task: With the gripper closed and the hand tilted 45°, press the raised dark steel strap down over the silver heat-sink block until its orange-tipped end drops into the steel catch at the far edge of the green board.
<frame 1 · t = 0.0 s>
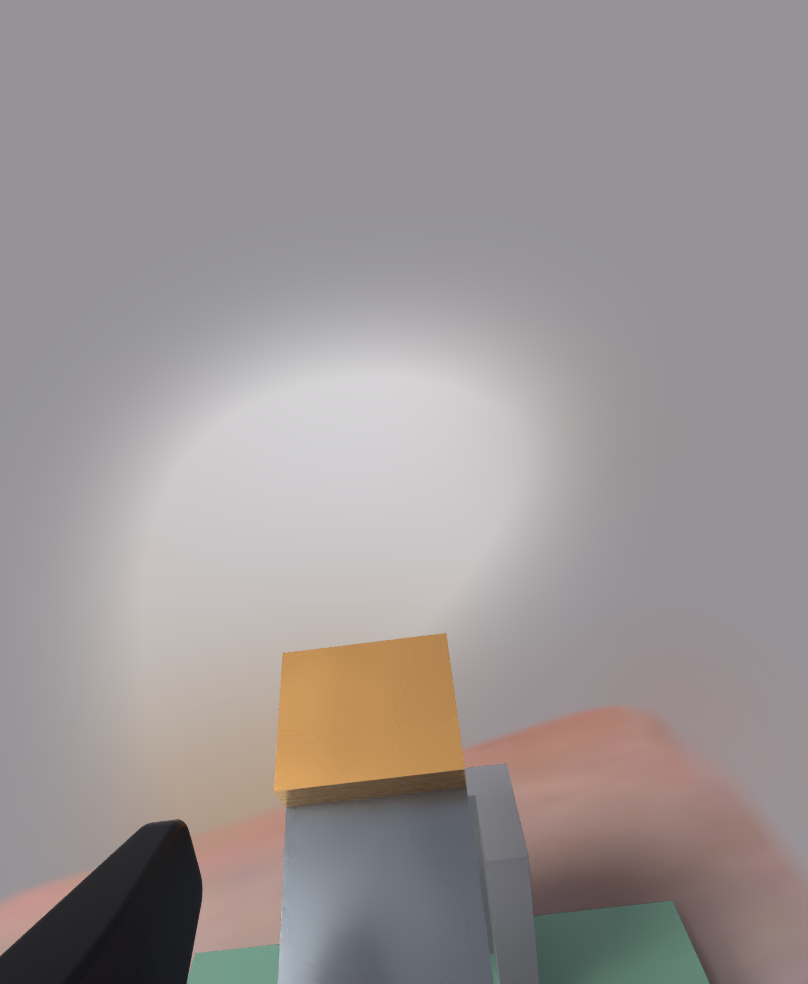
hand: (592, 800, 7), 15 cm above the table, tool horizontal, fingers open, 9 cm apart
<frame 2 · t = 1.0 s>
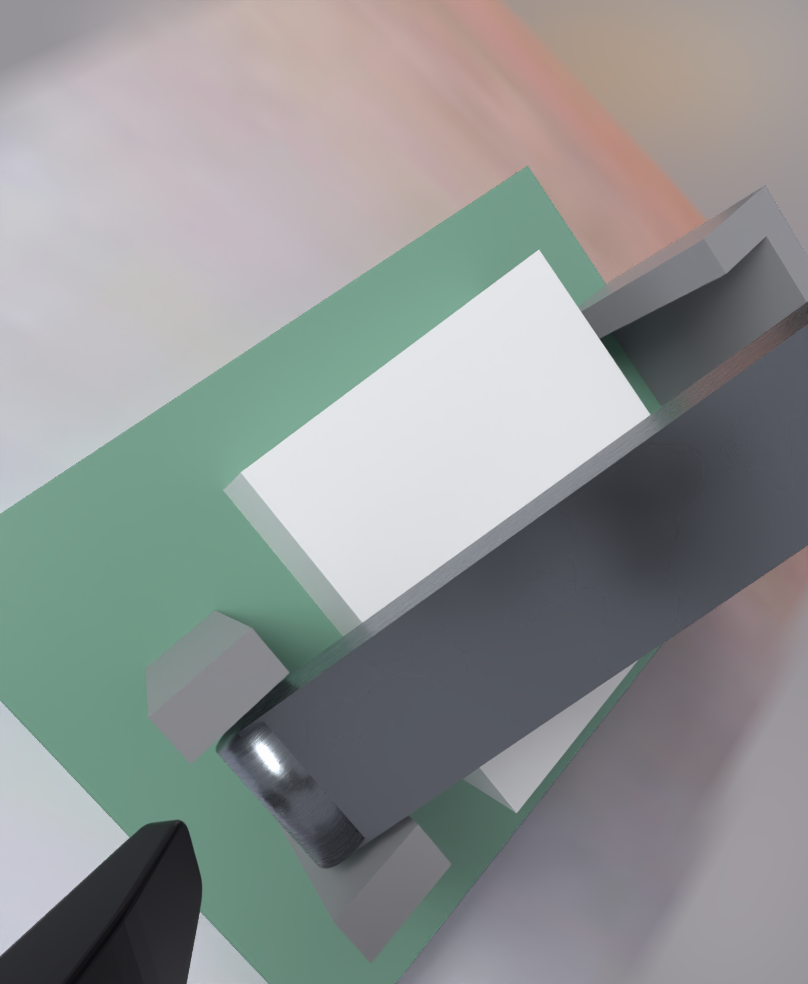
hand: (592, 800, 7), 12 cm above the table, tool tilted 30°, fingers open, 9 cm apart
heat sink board: (425, 544, 19), on the table
strap: (660, 533, 10), point 10 cm above the table, hinge at 28.0°
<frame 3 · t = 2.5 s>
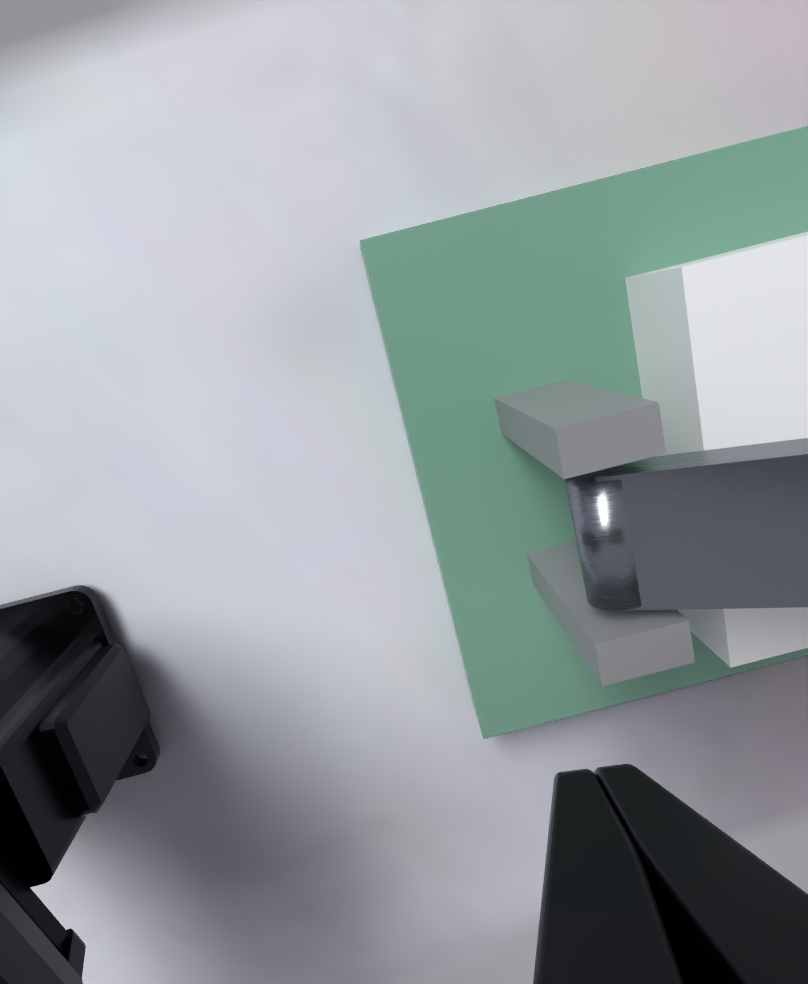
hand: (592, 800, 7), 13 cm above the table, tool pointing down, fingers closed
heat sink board: (756, 417, 19), on the table
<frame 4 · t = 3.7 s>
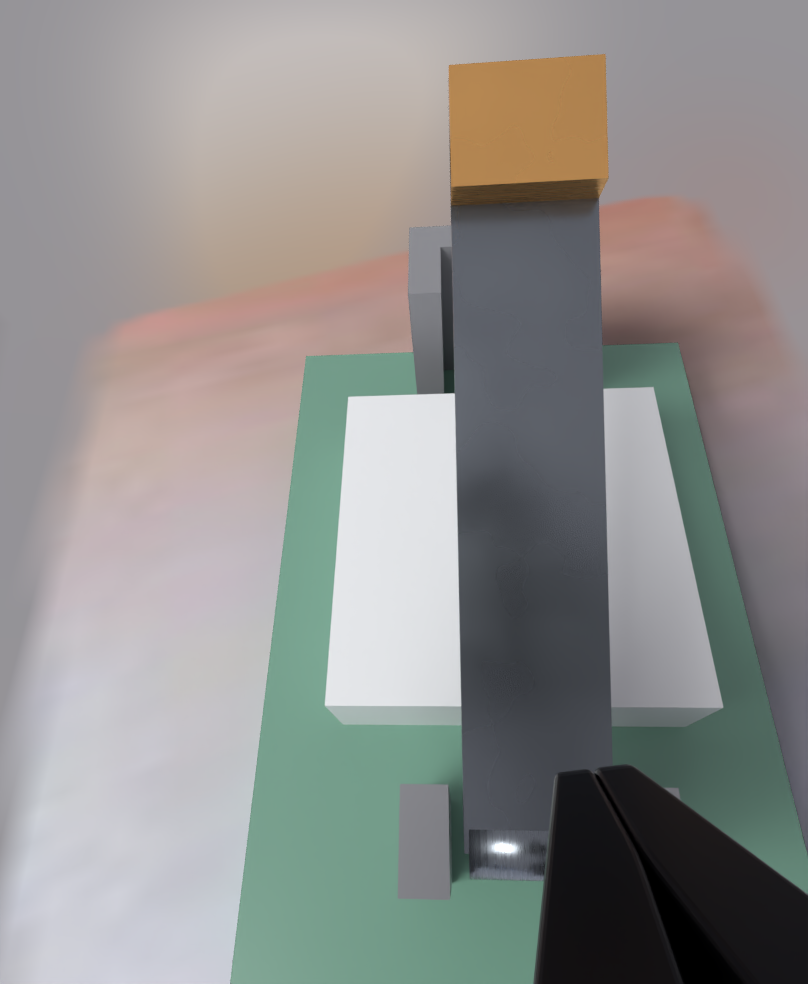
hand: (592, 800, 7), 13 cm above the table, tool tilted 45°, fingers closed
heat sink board: (500, 610, 22), on the table
strap: (529, 476, 13), point 10 cm above the table, hinge at 28.0°
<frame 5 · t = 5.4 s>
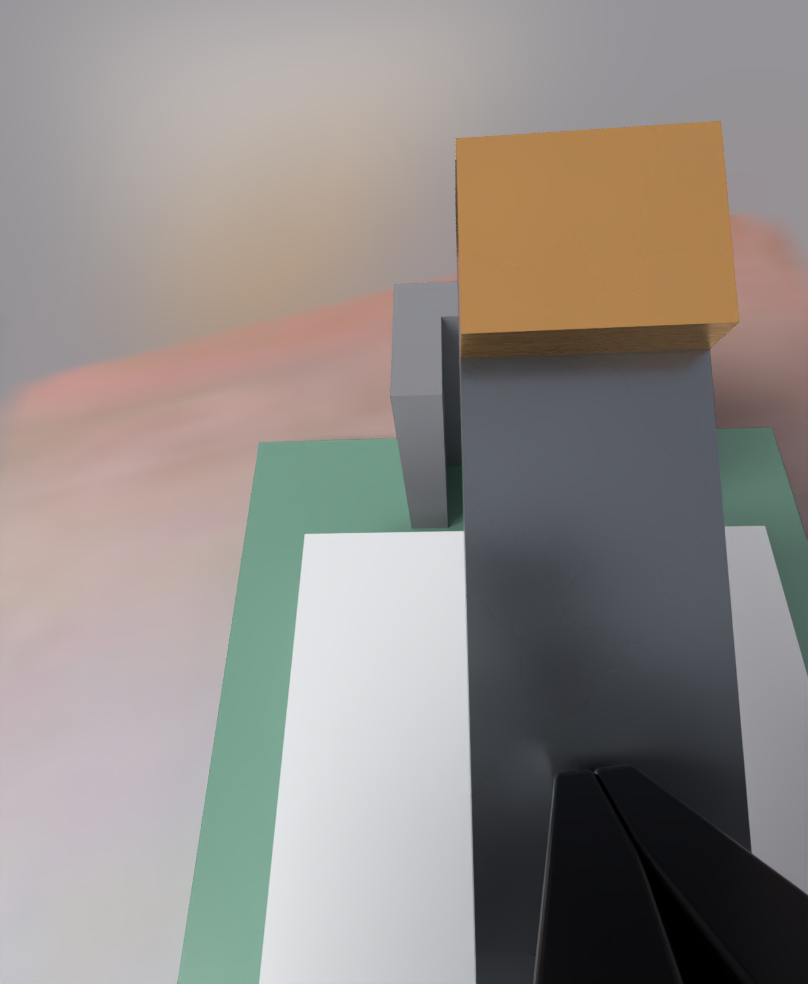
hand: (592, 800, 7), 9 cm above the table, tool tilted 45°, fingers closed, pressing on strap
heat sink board: (530, 840, 15), on the table
strap: (605, 839, 7), point 9 cm above the table, hinge at 20.4°, touching gripper
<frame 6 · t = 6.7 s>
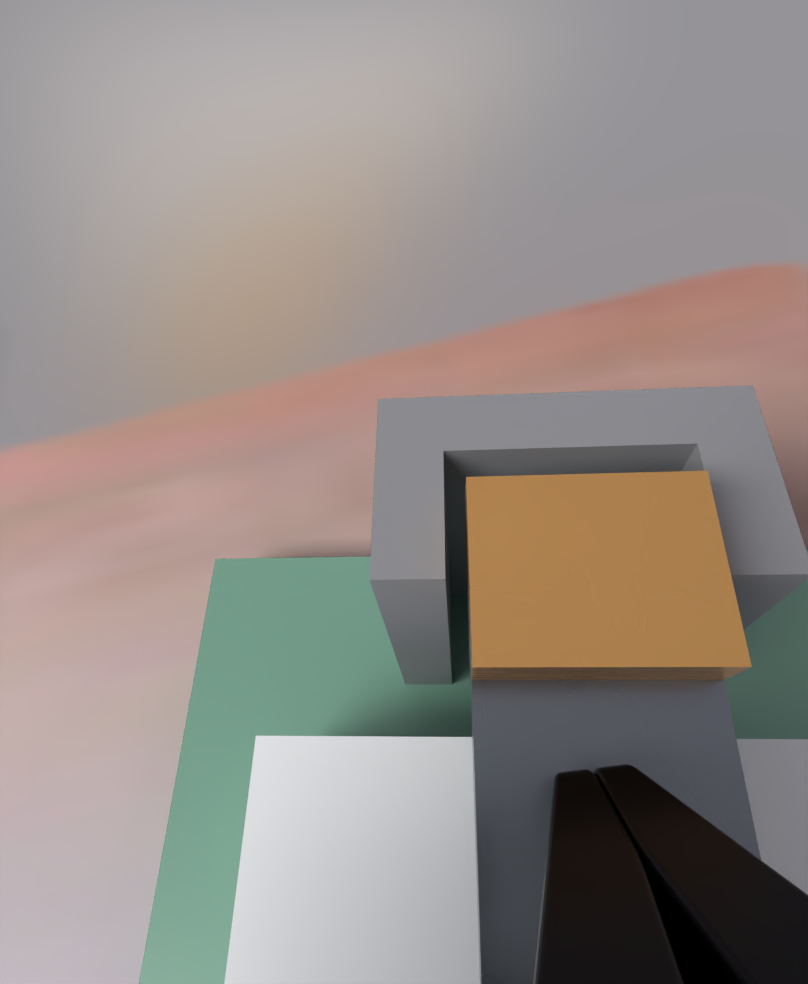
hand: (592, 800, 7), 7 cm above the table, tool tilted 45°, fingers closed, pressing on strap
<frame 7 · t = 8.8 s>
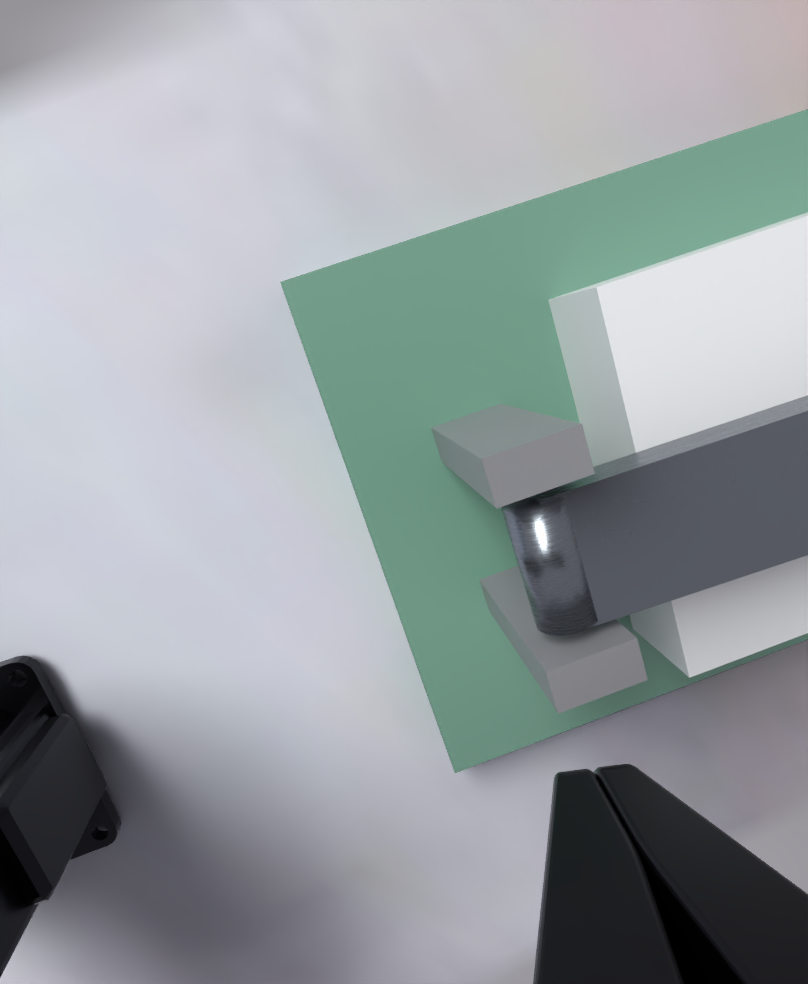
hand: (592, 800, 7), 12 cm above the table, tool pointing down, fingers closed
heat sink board: (692, 424, 20), on the table
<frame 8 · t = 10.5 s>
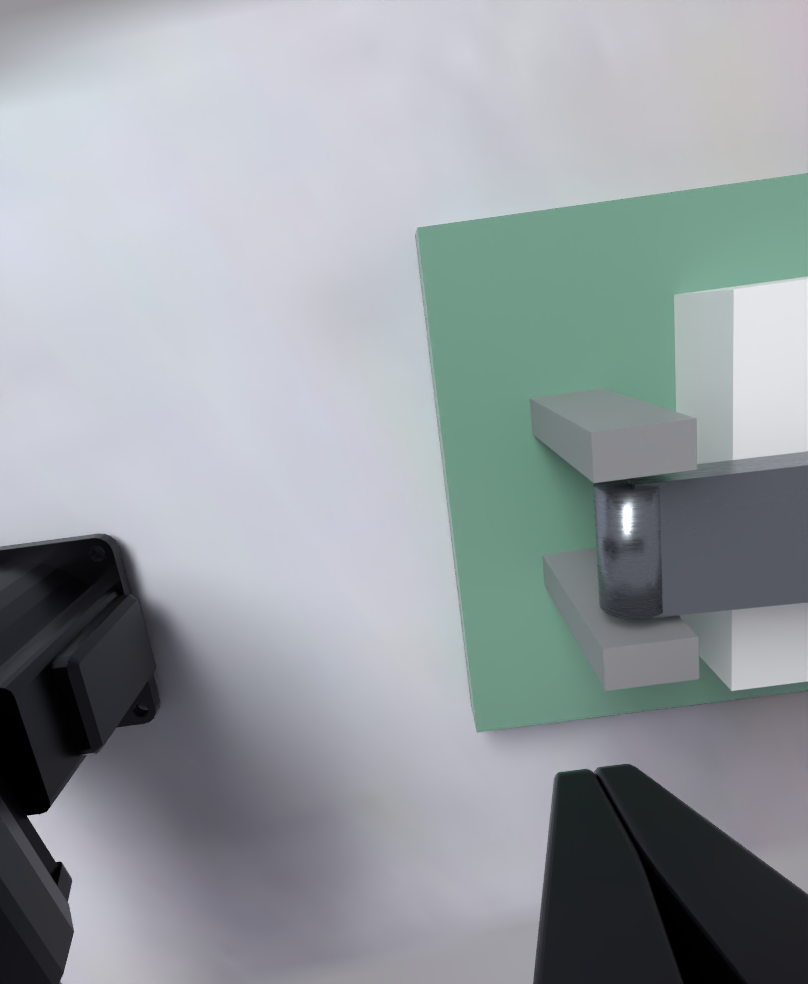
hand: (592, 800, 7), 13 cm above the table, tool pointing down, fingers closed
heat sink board: (786, 448, 19), on the table
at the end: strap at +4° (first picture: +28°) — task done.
